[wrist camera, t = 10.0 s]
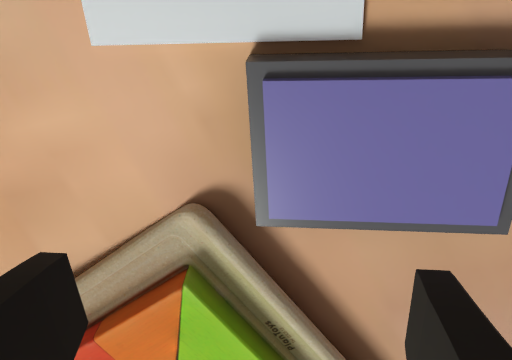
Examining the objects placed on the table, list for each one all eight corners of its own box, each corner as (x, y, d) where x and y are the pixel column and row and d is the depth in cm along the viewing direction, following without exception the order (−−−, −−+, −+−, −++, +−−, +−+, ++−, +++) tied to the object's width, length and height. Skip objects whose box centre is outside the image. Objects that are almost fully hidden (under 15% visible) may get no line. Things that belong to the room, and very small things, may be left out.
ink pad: (542, 48, 16) (558, 59, 15) (499, 220, 19) (510, 239, 18) (249, 54, 17) (244, 64, 16) (259, 212, 20) (255, 230, 19)
